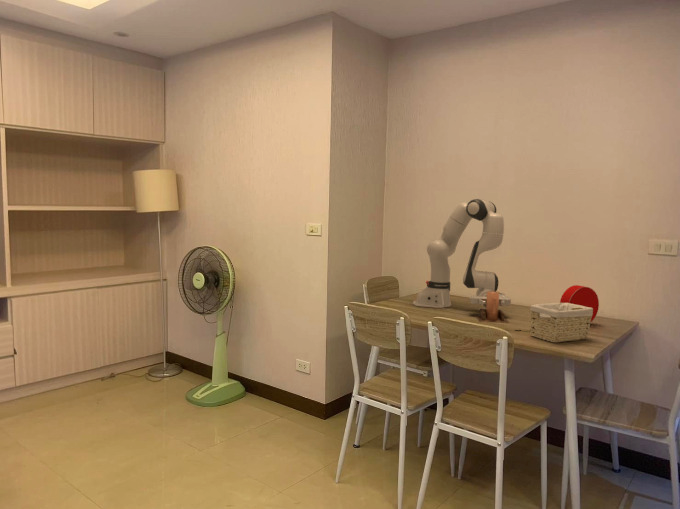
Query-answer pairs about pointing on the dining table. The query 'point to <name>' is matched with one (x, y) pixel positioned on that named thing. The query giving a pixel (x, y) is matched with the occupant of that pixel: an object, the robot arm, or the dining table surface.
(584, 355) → the dining table surface
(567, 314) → the storage basket
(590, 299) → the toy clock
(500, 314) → the walnut stand
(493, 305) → the orange rectangular block
